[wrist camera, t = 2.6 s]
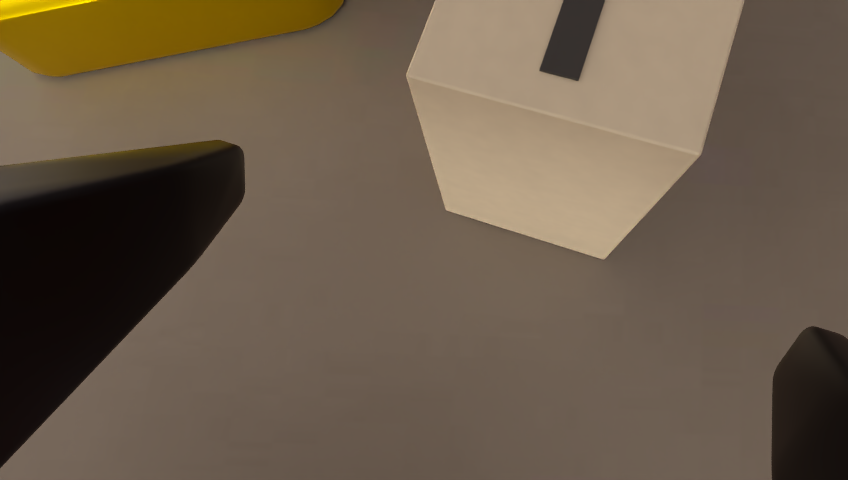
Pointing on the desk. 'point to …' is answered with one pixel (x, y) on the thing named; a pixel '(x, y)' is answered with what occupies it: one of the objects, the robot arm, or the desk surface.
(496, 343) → the desk surface
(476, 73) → the toaster
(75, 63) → the element tile
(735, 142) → the desk surface
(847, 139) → the desk surface
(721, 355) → the desk surface
